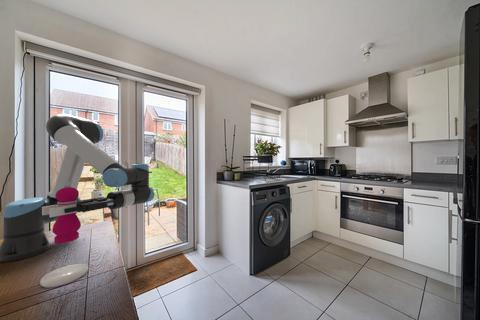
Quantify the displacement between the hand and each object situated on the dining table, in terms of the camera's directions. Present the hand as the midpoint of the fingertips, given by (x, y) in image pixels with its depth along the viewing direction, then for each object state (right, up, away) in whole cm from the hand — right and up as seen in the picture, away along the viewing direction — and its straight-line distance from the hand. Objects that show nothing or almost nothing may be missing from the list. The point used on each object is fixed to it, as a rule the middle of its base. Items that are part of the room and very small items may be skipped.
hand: (46, 212), depth 59 cm
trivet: (+2, -23, +4) cm, 24 cm away
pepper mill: (+2, -11, +5) cm, 12 cm away
